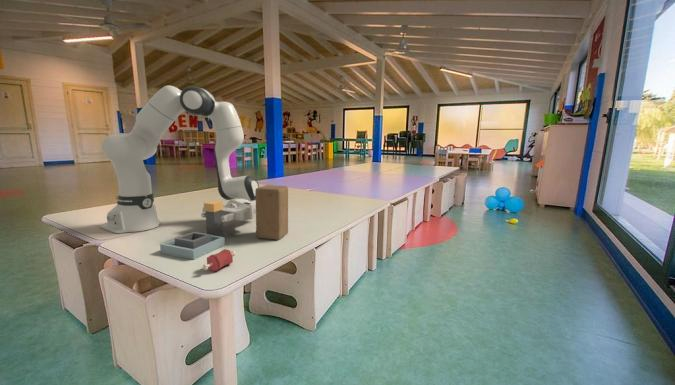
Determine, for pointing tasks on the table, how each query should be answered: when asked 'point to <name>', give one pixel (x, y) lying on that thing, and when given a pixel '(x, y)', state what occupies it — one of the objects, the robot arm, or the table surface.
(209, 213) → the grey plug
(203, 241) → the box
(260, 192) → the wooden block
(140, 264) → the table surface
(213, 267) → the meat
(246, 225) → the table surface
